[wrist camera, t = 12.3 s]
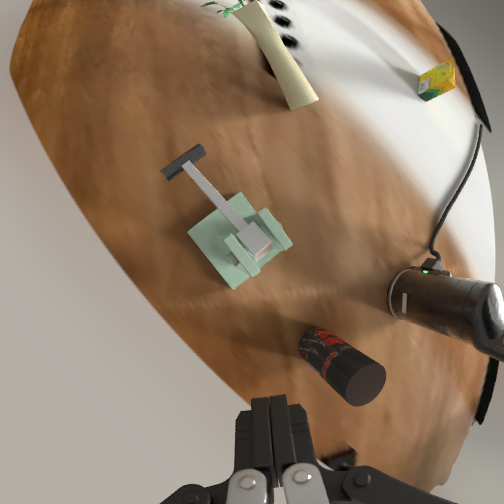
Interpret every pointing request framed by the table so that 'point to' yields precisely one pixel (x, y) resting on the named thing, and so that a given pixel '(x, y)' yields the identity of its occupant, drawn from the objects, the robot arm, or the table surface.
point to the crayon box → (437, 81)
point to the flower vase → (274, 53)
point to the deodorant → (342, 366)
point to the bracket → (226, 243)
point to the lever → (220, 203)
